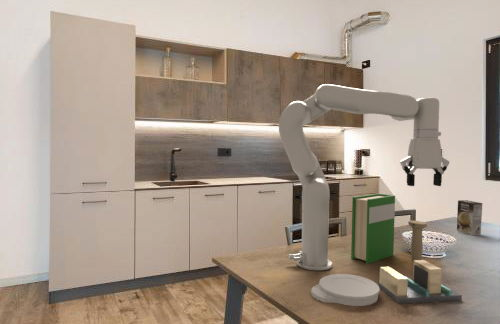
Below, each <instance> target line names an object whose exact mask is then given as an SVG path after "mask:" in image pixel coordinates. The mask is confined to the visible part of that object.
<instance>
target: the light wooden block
mask: <svg viewBox="0 0 500 324" xmlns="http://www.w3.org/2000/svg"><path fill="white" fill-rule="evenodd" d="M412 265H413V268H412V269H413V270H412V271H413V272H412V280H413V281H414V282H415V283H417V284H418V285H420V286H422V287H423V288H425V289H426V290H428V291H429V294H433V293H441V283H442V268H440V267H438V266H436V265H435V264H433V263H431V262H429V261H427V260H425V259H421V260H414V262H413V263H412Z"/></svg>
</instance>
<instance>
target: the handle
mask: <svg viewBox="0 0 500 324" xmlns="http://www.w3.org/2000/svg"><path fill="white" fill-rule="evenodd" d="M407 223H408V225H409V226H410V227H411V229H412V233H411V243H410V255H411V256H410V257H411V261H412V262H413V263H414V260H422V256H423V245H424V244H423V229H425V228H427V227H428V223H427V222H425V221H420V220H408V222H407Z"/></svg>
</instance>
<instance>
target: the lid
mask: <svg viewBox="0 0 500 324" xmlns="http://www.w3.org/2000/svg"><path fill="white" fill-rule="evenodd" d="M380 291H381V289H380V288H379V286H378V283H376V282H375V281H373V280H371V279H370V278H367V277H365V276H360V275H355V274H349V273H334V274H333V273H332V274H328V275H324V276H322V278H320V279H319V282H318V284H316V285H313V286H312V288H311V290H310V294H311V296H312V298H314V299H315V298H316V299H315V300H317V301H319V300H320V301H319V302H322V303H332V304H333V303H334V304H341V305H345V306H351V307H352V306H353V307H362V306H370V305H372V304H375V303H376V302H377V301H378V299H379V294H380Z"/></svg>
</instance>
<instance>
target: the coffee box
mask: <svg viewBox="0 0 500 324" xmlns="http://www.w3.org/2000/svg"><path fill="white" fill-rule="evenodd" d="M456 216H457V217H456V232H459V233H463V234H466V235H470V236H478V235H479V236H480V234H482V220H483V219H482V216H483V203H482V202H478V201H472V200H462V199H460V200H457V214H456Z"/></svg>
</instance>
